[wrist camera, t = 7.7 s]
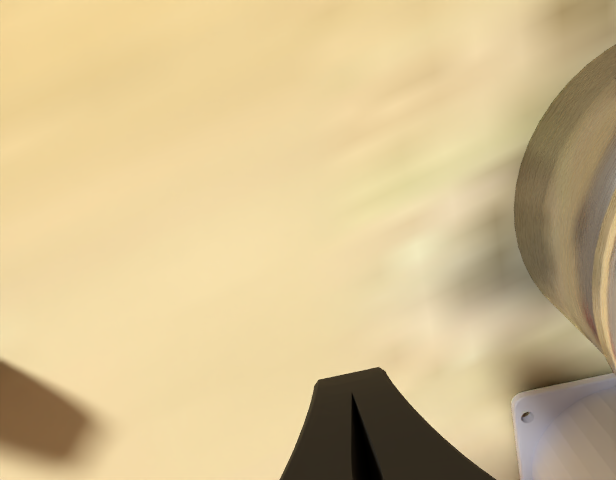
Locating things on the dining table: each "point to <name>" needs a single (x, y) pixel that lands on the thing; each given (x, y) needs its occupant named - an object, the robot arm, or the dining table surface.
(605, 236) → the cooker lid
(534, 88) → the dining table surface
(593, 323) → the cooker pot
